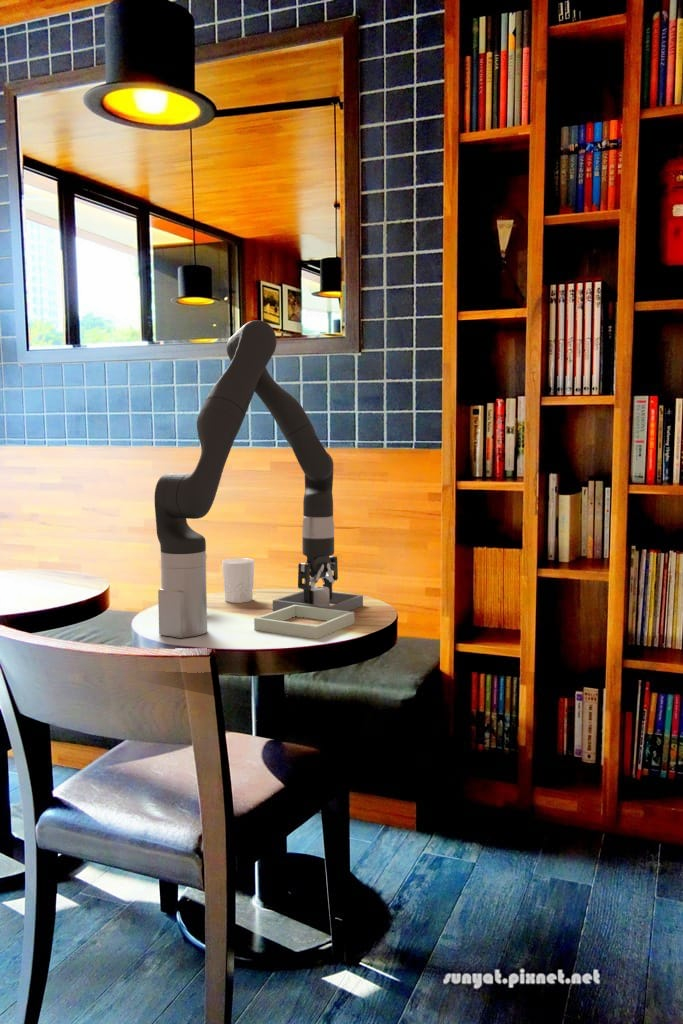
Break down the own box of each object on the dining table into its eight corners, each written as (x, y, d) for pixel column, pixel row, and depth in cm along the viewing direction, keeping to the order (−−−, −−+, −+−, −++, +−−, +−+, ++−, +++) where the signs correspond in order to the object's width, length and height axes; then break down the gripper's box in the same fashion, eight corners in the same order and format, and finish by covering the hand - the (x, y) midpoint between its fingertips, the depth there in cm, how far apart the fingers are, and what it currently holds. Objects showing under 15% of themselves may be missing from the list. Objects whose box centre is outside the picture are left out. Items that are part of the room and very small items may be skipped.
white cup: (256, 597, 208) (256, 558, 207) (252, 603, 200) (252, 563, 199) (225, 597, 208) (225, 558, 207) (220, 603, 200) (219, 563, 200)
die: (329, 610, 193) (329, 589, 192) (308, 611, 193) (308, 590, 192) (328, 606, 198) (328, 585, 197) (307, 606, 198) (307, 586, 197)
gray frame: (330, 618, 185) (330, 607, 184) (272, 610, 192) (272, 600, 192) (362, 605, 198) (362, 595, 198) (308, 599, 206) (308, 589, 206)
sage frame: (317, 639, 166) (317, 626, 166) (254, 629, 174) (254, 618, 174) (354, 623, 180) (354, 612, 180) (294, 615, 188) (294, 604, 187)
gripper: (316, 539, 185) (316, 610, 187) (347, 532, 198) (346, 599, 199) (288, 537, 189) (288, 606, 191) (320, 530, 201) (320, 596, 203)
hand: (318, 602), depth 195 cm, fingers open, 8 cm apart
